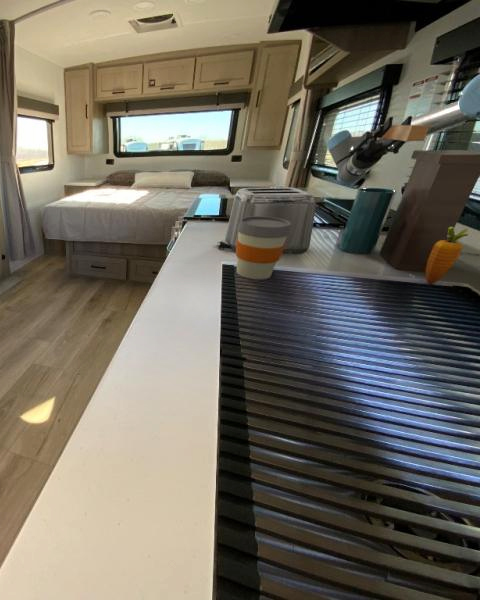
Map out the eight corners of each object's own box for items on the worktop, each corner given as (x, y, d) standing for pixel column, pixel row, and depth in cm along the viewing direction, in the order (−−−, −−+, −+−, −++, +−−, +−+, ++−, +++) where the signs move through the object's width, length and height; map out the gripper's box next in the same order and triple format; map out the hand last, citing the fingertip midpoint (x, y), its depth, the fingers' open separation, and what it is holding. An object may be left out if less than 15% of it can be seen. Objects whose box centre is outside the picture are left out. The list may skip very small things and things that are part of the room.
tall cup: (373, 248, 109) (395, 189, 101) (372, 256, 103) (397, 193, 94) (339, 244, 114) (358, 187, 106) (337, 251, 108) (357, 191, 100)
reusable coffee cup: (272, 266, 99) (284, 216, 92) (283, 283, 88) (298, 228, 81) (227, 264, 102) (236, 215, 95) (232, 280, 91) (242, 226, 85)
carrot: (440, 282, 85) (469, 225, 78) (445, 290, 82) (476, 230, 75) (414, 279, 88) (440, 223, 81) (418, 286, 84) (446, 228, 77)
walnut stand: (374, 252, 106) (413, 150, 93) (414, 255, 103) (461, 149, 89) (392, 270, 93) (441, 154, 80) (439, 274, 90) (499, 154, 76)
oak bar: (376, 137, 104) (380, 125, 103) (390, 137, 103) (394, 124, 101) (406, 141, 85) (412, 125, 83) (424, 140, 83) (430, 125, 82)
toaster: (317, 256, 105) (336, 194, 96) (220, 254, 110) (229, 195, 101) (295, 240, 120) (310, 185, 111) (210, 240, 124) (218, 187, 116)
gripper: (392, 169, 113) (436, 133, 91) (334, 169, 119) (362, 135, 97) (396, 148, 113) (440, 106, 91) (337, 149, 119) (366, 110, 97)
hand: (400, 121), depth 94 cm, fingers closed on oak bar, 3 cm apart
